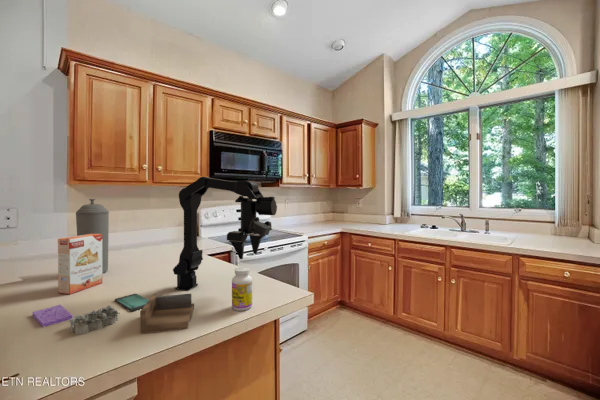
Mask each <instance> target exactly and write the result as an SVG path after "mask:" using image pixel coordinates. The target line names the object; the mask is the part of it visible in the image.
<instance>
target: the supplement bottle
mask: <svg viewBox="0 0 600 400" xmlns="http://www.w3.org/2000/svg"><path fill="white" fill-rule="evenodd" d="M249 273H250V268H249V267H246V266H243V267H242V266H241V267H237V268H235V269H234V274H235V275H234V276H233V277H232V279H231V309H233V310H234V311H240V312H242V311H247V310H250V309H251V308H252V306H253V277H252V276H251V275H250V274H249Z"/></svg>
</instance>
